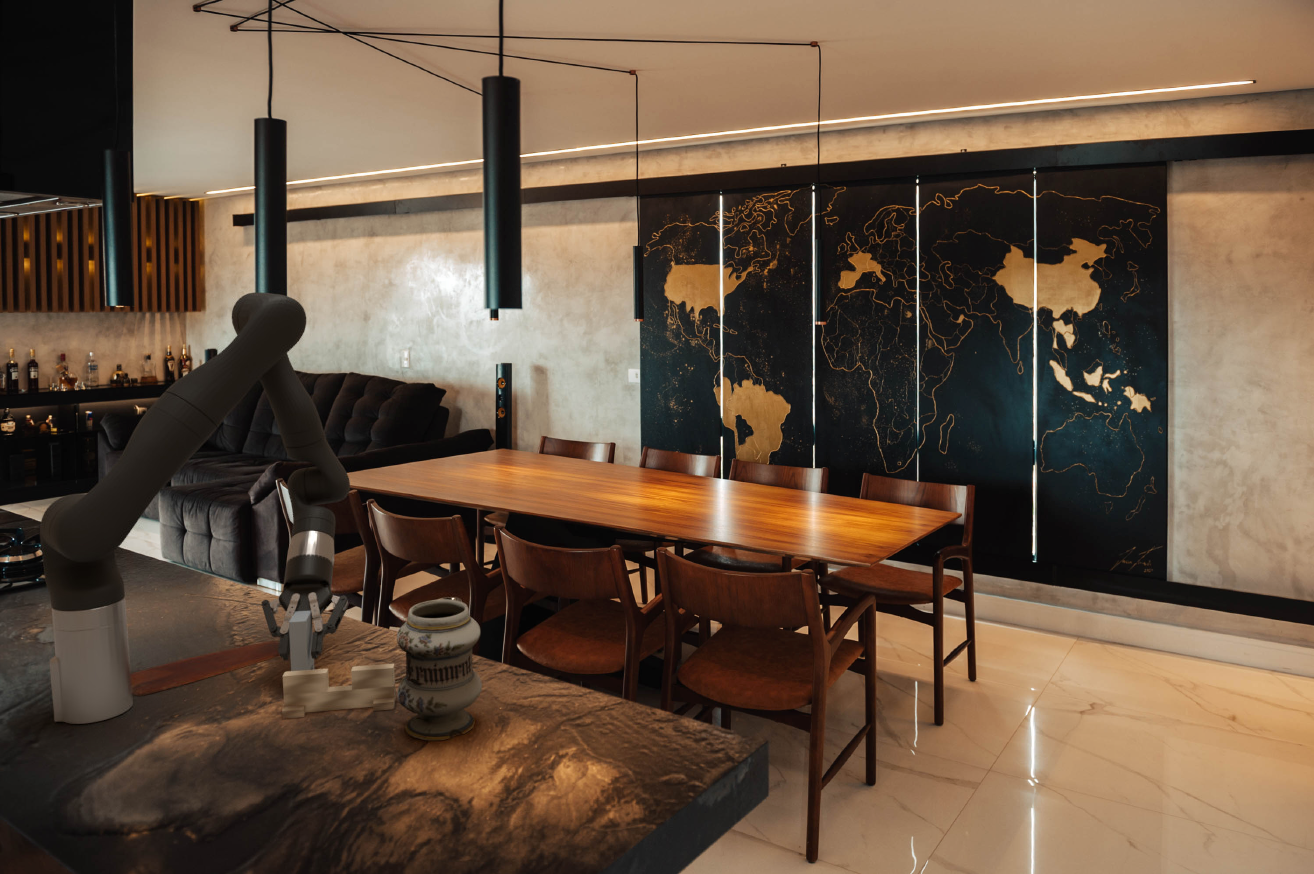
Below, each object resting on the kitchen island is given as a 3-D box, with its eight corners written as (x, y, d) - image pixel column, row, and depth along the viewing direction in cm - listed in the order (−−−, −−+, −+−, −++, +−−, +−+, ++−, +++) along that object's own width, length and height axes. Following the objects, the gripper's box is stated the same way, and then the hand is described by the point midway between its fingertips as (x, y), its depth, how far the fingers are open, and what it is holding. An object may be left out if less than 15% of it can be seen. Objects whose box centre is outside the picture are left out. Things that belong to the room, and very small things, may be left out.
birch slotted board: (282, 718, 127) (280, 680, 126) (289, 704, 132) (287, 667, 131) (393, 709, 131) (392, 671, 130) (396, 695, 135) (395, 659, 135)
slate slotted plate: (292, 694, 136) (288, 622, 134) (298, 681, 141) (295, 611, 139) (308, 693, 136) (305, 621, 135) (314, 679, 141) (311, 610, 140)
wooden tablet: (138, 702, 134) (137, 692, 134) (116, 684, 141) (115, 675, 140) (301, 654, 154) (301, 645, 154) (275, 641, 161) (275, 632, 160)
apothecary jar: (428, 753, 117) (424, 627, 115) (382, 726, 125) (378, 608, 123) (499, 724, 126) (497, 607, 124) (452, 700, 134) (449, 589, 132)
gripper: (261, 554, 142) (246, 651, 131) (350, 550, 145) (343, 644, 134) (270, 576, 147) (256, 670, 137) (356, 572, 151) (349, 663, 140)
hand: (299, 657), depth 136 cm, fingers open, 3 cm apart
